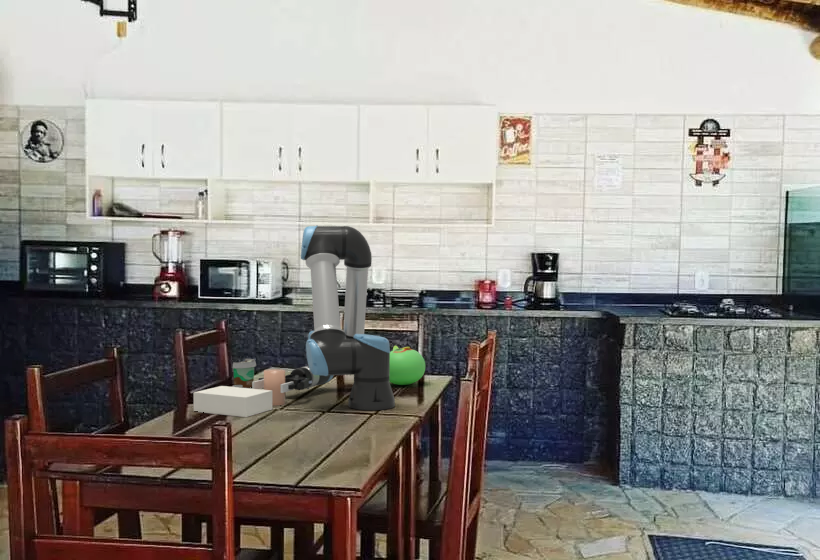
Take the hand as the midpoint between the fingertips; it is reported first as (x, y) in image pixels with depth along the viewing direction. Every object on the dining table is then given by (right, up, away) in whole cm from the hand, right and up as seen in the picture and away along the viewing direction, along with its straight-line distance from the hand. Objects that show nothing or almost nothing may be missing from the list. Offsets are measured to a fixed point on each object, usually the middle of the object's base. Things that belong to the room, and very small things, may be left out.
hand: (267, 387), depth 270 cm
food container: (-13, -5, +35) cm, 38 cm away
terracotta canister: (+2, -6, +4) cm, 7 cm away
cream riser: (-9, -6, -8) cm, 14 cm away
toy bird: (+44, -5, +44) cm, 62 cm away
